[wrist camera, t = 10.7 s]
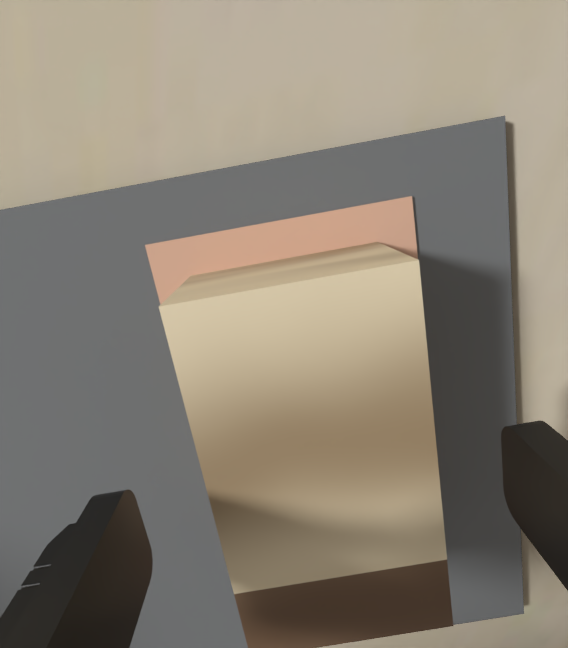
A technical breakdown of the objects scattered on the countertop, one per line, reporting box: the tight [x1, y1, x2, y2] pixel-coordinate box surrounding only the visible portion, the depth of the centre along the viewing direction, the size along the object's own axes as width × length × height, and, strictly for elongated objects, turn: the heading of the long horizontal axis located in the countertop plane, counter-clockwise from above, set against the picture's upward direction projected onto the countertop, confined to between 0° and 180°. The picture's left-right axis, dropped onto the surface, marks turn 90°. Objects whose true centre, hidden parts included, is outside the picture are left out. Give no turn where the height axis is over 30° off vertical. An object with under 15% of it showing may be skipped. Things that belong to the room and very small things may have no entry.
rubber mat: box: [0, 116, 524, 648], centre depth 14 cm, size 24×16×1 cm, turn 100°
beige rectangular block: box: [159, 242, 453, 648], centre depth 11 cm, size 9×5×4 cm, turn 10°
